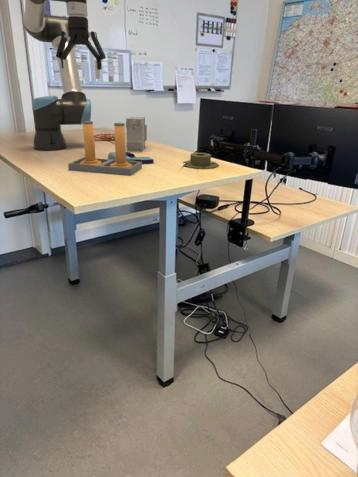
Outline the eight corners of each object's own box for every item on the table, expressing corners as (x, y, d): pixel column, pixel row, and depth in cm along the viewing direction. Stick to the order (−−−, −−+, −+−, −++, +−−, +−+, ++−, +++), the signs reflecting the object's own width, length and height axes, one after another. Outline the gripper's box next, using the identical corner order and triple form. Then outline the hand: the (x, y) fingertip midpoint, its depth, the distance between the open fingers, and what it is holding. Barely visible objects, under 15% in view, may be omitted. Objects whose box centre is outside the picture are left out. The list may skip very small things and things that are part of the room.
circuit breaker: (147, 146, 183) (147, 116, 177) (142, 152, 170) (141, 119, 164) (133, 146, 184) (132, 115, 177) (126, 151, 171) (125, 118, 164)
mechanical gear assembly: (112, 136, 212) (87, 138, 206) (112, 129, 210) (86, 131, 204) (130, 144, 188) (103, 147, 182) (130, 136, 186) (102, 139, 180)
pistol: (156, 167, 145) (123, 170, 137) (139, 159, 157) (107, 162, 149) (157, 157, 143) (122, 160, 135) (139, 150, 155) (107, 152, 147)
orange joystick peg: (76, 169, 131) (71, 122, 124) (86, 164, 138) (82, 119, 131) (96, 170, 130) (93, 123, 123) (105, 166, 137) (102, 121, 130)
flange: (213, 151, 155) (179, 151, 152) (223, 158, 141) (186, 158, 139) (212, 161, 157) (179, 162, 154) (222, 170, 143) (186, 170, 140)
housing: (69, 173, 130) (68, 163, 129) (84, 166, 141) (83, 157, 139) (131, 178, 126) (130, 169, 124) (141, 171, 136) (141, 161, 135)
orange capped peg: (106, 171, 129) (104, 124, 122) (115, 166, 136) (113, 121, 129) (127, 173, 127) (126, 125, 120) (135, 168, 134) (134, 122, 127)
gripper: (42, 15, 134) (49, 77, 143) (104, 15, 129) (107, 79, 138) (53, 18, 141) (59, 77, 150) (112, 18, 136) (114, 79, 145)
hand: (82, 78), depth 144 cm, fingers open, 13 cm apart
